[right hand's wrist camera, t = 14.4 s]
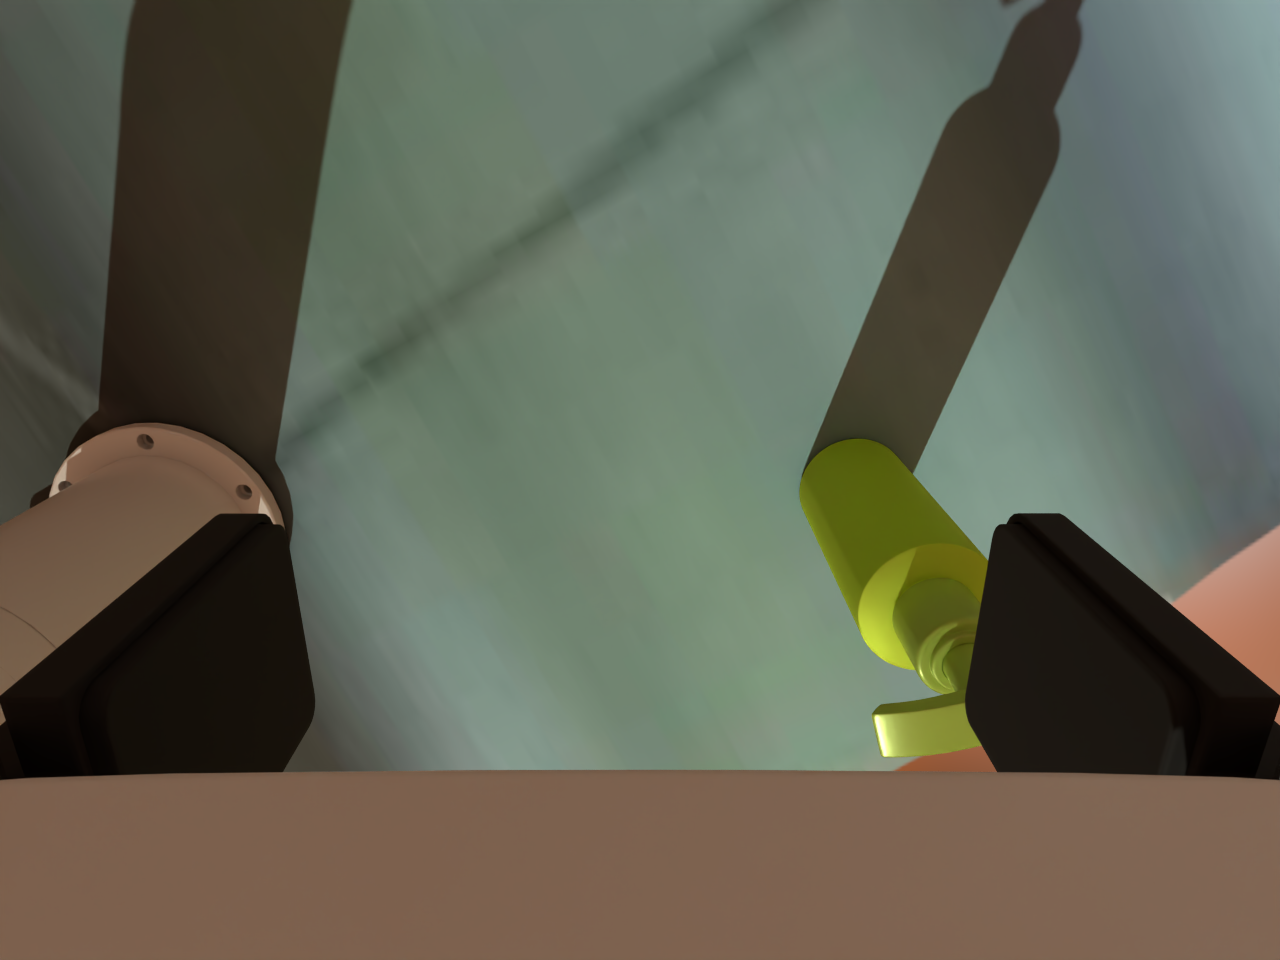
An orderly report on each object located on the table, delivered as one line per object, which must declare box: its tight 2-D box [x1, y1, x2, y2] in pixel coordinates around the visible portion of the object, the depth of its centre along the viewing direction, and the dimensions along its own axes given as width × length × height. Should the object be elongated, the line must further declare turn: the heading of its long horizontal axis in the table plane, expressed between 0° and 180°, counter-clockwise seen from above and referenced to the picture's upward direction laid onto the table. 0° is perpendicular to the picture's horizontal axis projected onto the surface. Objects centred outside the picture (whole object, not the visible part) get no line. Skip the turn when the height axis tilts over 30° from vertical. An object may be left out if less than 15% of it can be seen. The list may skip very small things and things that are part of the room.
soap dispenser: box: [800, 439, 988, 757], centre depth 36 cm, size 6×7×20 cm
